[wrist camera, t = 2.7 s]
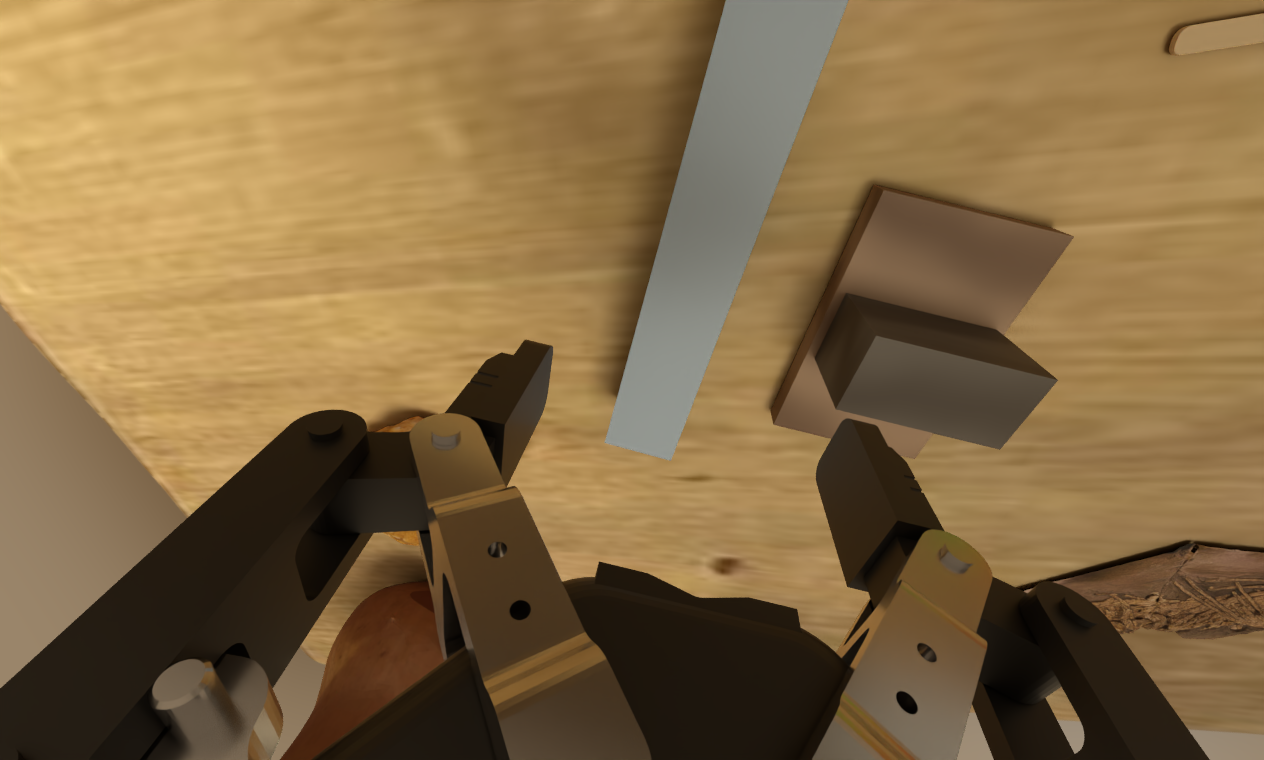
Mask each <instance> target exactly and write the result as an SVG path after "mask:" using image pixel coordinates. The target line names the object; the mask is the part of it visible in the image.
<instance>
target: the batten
mask: <svg viewBox="0 0 1264 760" xmlns="http://www.w3.org/2000/svg"><path fill="white" fill-rule="evenodd" d="M847 3H848V0H726V2H725V6H724V9H723V13H722V17H721V20H720V24H719V28H718V31H717V35H716V39H715V42H714V46H713V49H712V53H711V57H710V60H709V64H708V68H707V71H706V75H705V79H704V82H703V86H702V90H701V93H700V97H699V101H698V104H697V108H696V111H695V115H694V119H693V122H692V126H691V130H690V133H689V137H688V141H687V144H686V148H685V152H684V155H683V159H682V163H681V166H680V170H679V174H678V177H677V181H676V184H675V188H674V192H673V195H672V199H671V203H670V206H669V210H668V214H667V217H666V221H665V225H664V228H663V232H662V236H661V239H660V243H659V247H658V250H657V254H656V257H655V261H654V265H653V268H652V272H651V276H650V279H649V283H648V287H647V290H646V294H645V298H644V301H643V305H642V309H641V312H640V316H639V320H638V323H637V327H636V330H635V334H634V338H633V341H632V345H631V349H630V352H629V356H628V360H627V363H626V367H625V371H624V374H623V378H622V382H621V385H620V389H619V393H618V396H617V400H616V403H615V407H614V411H613V414H612V418H611V422H610V425H609V429H608V433H607V436H606V440H605V443H607V444H611V445H615V446H618V447H622V448H626V449H629V450H633V451H637V452H641V453H644V454H648V455H652V456H655V457H659V458H663V459H666V460H670V461H671V459H672V456H673V454H674V451H675V448H676V446H677V443H678V441H679V438H680V435H681V433H682V430H683V428H684V425H685V423H686V420H687V417H688V415H689V412H690V410H691V407H692V404H693V402H694V399H695V397H696V394H697V391H698V389H699V386H700V384H701V381H702V378H703V376H704V373H705V371H706V368H707V366H708V363H709V360H710V358H711V355H712V353H713V350H714V347H715V345H716V342H717V340H718V337H719V334H720V332H721V329H722V327H723V324H724V321H725V319H726V316H727V314H728V311H729V309H730V306H731V303H732V301H733V298H734V296H735V293H736V290H737V288H738V285H739V283H740V280H741V277H742V275H743V272H744V270H745V267H746V265H747V262H748V259H749V257H750V254H751V252H752V249H753V246H754V244H755V241H756V239H757V236H758V233H759V231H760V228H761V226H762V223H763V220H764V218H765V215H766V213H767V210H768V208H769V205H770V202H771V200H772V197H773V195H774V192H775V189H776V187H777V184H778V182H779V179H780V176H781V174H782V171H783V169H784V166H785V163H786V161H787V158H788V156H789V153H790V151H791V148H792V145H793V143H794V140H795V138H796V135H797V132H798V130H799V127H800V125H801V122H802V119H803V117H804V114H805V112H806V109H807V107H808V104H809V101H810V99H811V96H812V94H813V91H814V88H815V86H816V83H817V81H818V78H819V75H820V73H821V70H822V68H823V65H824V62H825V60H826V57H827V55H828V52H829V50H830V47H831V44H832V42H833V39H834V37H835V34H836V31H837V29H838V26H839V24H840V21H841V18H842V16H843V13H844V11H845V8H846V5H847Z"/></svg>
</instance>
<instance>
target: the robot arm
mask: <svg viewBox="0 0 1264 760" xmlns="http://www.w3.org/2000/svg"><path fill="white" fill-rule="evenodd" d="M552 356H553V347H552V346H550V345H546V344H542V343H538V342H534V341H530V340H524V341H523V343H522V344H521V346H520V347H519V349H518V350H517V351H516V353H515V354H514V355H510V354H505V353H500V354H498V355H496V356H494V357H492V358H490V359H488V360H486V361H485V363H484V364H483V365H482V366H481V368H480V369H479V370H478V373H477V374H475V375H474V377H473V378H472V379H471V381H470V383H468V384H467V385H466V387H465V388H464V389H463V391H462V392H461V393H460V394H459V396H458V397H457V398H456V399H455V401H454V402H453V403H452V405H451V406H450V407H449V408H448V410H447V411H446V412H445V413H443V414H436V415H432V416H429V417H426V418H424V419H422V420H421V421H419V422H418V423H417V424H415V425H414V427H413V428H412V430H411V431H408V432H367V426H366V423H365V421H364V419H363V418H362V417H360V416H359V415H357V414H355V413H353V412H349V411H344V410H324V411H318V412H314V413H311V414H308V415H305V416H303V417H301V418H299V419H297V420H296V421H294V422H293V423H292V424H290V425H289V426H288V427H287V428H286V429H285V430H284V431H283V432H281V433H280V434H279V435H278V436H277V437H276V438H275V439H274V440H273V441H272V442H270V443H269V444H268V445H267V446H266V447H265V448H264V449H263V450H262V451H261V452H259V453H258V454H257V455H256V456H255V457H254V458H253V459H252V460H251V461H250V462H248V463H247V464H246V465H245V466H244V467H243V468H242V469H241V470H240V471H239V472H238V473H236V474H235V475H234V476H233V477H232V478H231V479H230V480H229V481H228V482H227V483H225V484H224V485H223V486H222V487H221V488H220V489H219V490H218V491H217V492H216V493H214V494H213V495H212V496H211V497H210V498H209V499H208V500H207V501H206V502H205V503H203V504H202V505H201V506H200V507H199V508H198V509H197V510H196V511H195V512H194V513H193V514H191V515H190V516H189V517H188V518H187V519H186V520H185V521H184V522H183V523H182V524H180V525H179V526H178V527H177V528H176V529H175V530H174V531H173V532H172V533H171V534H169V535H168V536H167V537H166V538H165V539H164V540H163V541H162V542H161V543H160V544H159V545H157V546H156V547H155V548H154V549H153V550H152V551H151V552H150V553H149V554H148V555H146V556H145V557H144V558H143V559H142V560H141V561H140V562H139V563H138V564H137V565H136V566H134V567H133V568H132V569H131V570H130V571H129V572H128V573H127V574H126V575H125V576H123V577H122V578H121V579H120V580H119V581H118V582H117V583H116V584H115V585H113V586H112V587H111V588H110V589H109V590H108V591H107V592H106V593H105V594H104V595H103V596H101V597H100V598H99V599H98V600H97V601H96V602H95V603H94V604H93V605H92V606H91V607H89V608H88V609H87V610H86V611H85V612H84V613H83V614H82V615H81V616H79V618H77V619H76V620H75V621H74V622H73V623H72V624H71V625H70V626H69V627H68V628H66V629H65V630H64V631H63V632H62V633H61V634H60V635H59V636H57V637H56V638H55V639H54V640H53V641H52V642H51V643H50V644H49V645H48V646H47V647H45V648H44V649H43V650H42V651H41V652H40V653H39V654H38V655H37V656H36V657H34V658H33V659H32V660H31V661H30V662H29V663H28V664H27V665H26V666H25V667H24V668H22V669H21V671H19V672H18V673H17V674H16V675H15V676H14V677H13V678H11V680H9V681H8V682H7V683H6V684H5V685H4V686H3V687H2V688H0V760H271V757H272V755H273V753H274V751H275V748H276V746H277V744H278V742H279V739H280V736H281V733H282V727H283V713H282V710H281V707H280V705H279V703H278V700H277V698H276V696H275V693H274V691H273V689H272V688H273V687H274V685H275V684H276V682H277V681H278V679H279V678H280V676H281V675H282V673H283V671H284V670H285V668H286V667H287V665H288V664H289V662H290V661H291V659H292V658H293V656H294V655H295V653H296V651H297V650H298V648H299V647H300V645H301V644H302V642H303V641H304V639H305V638H306V636H307V635H308V633H309V631H310V630H311V628H312V627H313V625H314V624H315V622H316V621H317V619H318V618H319V616H320V615H321V613H322V611H323V610H324V608H325V607H326V605H327V604H328V602H329V601H330V599H331V598H332V596H333V595H334V593H335V591H336V590H337V588H338V587H339V585H340V584H341V582H342V581H343V579H344V578H345V576H346V575H347V573H348V571H349V570H350V568H351V567H352V565H353V564H354V562H355V561H356V559H357V558H358V556H359V555H360V553H361V551H362V550H363V548H364V547H365V545H366V544H367V542H368V541H369V539H370V538H371V536H372V535H373V533H379V532H401V531H416V533H417V537H418V541H419V545H420V549H421V554H422V558H423V562H424V566H425V570H426V575H427V579H428V583H429V587H430V591H431V596H432V600H433V606H434V612H435V619H436V626H437V632H438V637H439V642H440V646H441V651H442V655H443V659H444V662H442V663H441V664H440V665H438V666H437V667H436V668H434V669H433V670H431V671H430V672H429V673H427V674H426V675H425V676H423V677H422V678H421V679H419V680H418V681H417V682H415V683H414V684H412V685H411V686H410V687H408V688H407V689H406V690H404V691H403V692H402V693H400V694H399V695H397V696H396V697H395V698H393V699H392V700H391V701H389V702H388V703H387V704H385V705H384V706H383V707H381V708H380V709H378V710H377V711H376V712H374V713H373V714H372V715H370V716H369V717H368V718H366V719H365V720H363V721H362V722H361V723H359V724H358V725H357V726H355V727H354V728H353V729H351V730H350V731H349V732H347V733H346V734H344V735H343V736H342V737H340V738H339V739H338V740H336V741H335V742H334V743H332V744H331V745H330V746H328V747H327V748H325V749H324V750H323V751H321V752H320V753H319V754H317V755H316V756H315V757H313V758H312V759H311V760H957V756H958V753H959V749H960V745H961V742H962V738H963V734H964V731H965V727H966V723H967V719H968V716H969V712H970V709H971V705H973V708H974V710H975V713H976V715H977V718H978V720H979V723H980V725H981V728H982V731H983V733H984V735H985V738H986V740H987V743H988V745H989V748H990V751H991V753H992V756H993V758H994V760H1209V758H1208V757H1207V755H1206V754H1205V753H1204V751H1203V750H1202V749H1201V747H1200V746H1199V744H1198V743H1197V741H1196V740H1195V739H1194V737H1193V736H1192V735H1191V734H1190V732H1189V730H1188V729H1187V728H1186V726H1185V725H1184V723H1183V722H1182V721H1181V719H1180V718H1179V716H1178V715H1177V714H1176V712H1175V711H1174V709H1173V708H1172V707H1171V705H1170V704H1169V703H1168V701H1167V700H1166V698H1165V697H1164V696H1163V694H1162V693H1161V691H1160V690H1159V689H1158V687H1157V686H1156V684H1155V683H1154V682H1153V680H1152V679H1151V677H1150V676H1149V675H1148V673H1147V672H1146V670H1145V669H1144V668H1143V666H1142V665H1141V664H1140V662H1139V661H1138V659H1137V658H1136V657H1135V655H1134V654H1133V652H1132V651H1131V650H1130V648H1129V647H1128V645H1127V644H1126V643H1125V641H1124V640H1123V638H1122V637H1121V636H1120V634H1119V633H1118V632H1117V630H1116V629H1115V627H1114V626H1113V625H1112V623H1111V622H1110V621H1109V619H1108V618H1107V617H1106V616H1105V615H1104V614H1103V613H1102V612H1101V611H1100V610H1099V609H1098V608H1097V607H1096V606H1095V605H1093V604H1092V603H1091V602H1090V601H1088V600H1087V599H1086V598H1084V597H1083V596H1081V595H1080V594H1078V593H1077V592H1075V591H1073V590H1071V589H1070V588H1067V587H1065V586H1063V585H1060V584H1058V583H1054V582H1047V581H1045V582H1041V583H1039V584H1037V585H1036V586H1035V587H1034V588H1033V589H1032V590H1031V591H1030V592H1028V593H1026V592H1024V591H1022V590H1020V589H1018V588H1015V587H1013V586H1011V585H1009V584H1007V583H1005V582H1003V581H1001V580H999V579H997V578H994V577H992V572H991V569H990V567H989V565H988V563H987V562H986V561H985V559H984V558H983V557H982V556H981V555H980V554H979V553H978V552H977V551H976V550H975V549H974V548H973V547H972V546H971V545H969V544H968V543H967V542H965V541H964V540H962V539H960V538H959V537H957V536H955V535H953V534H950V533H948V532H945V531H944V529H943V528H942V526H941V524H940V522H939V520H938V518H937V517H936V515H935V513H934V511H933V509H932V508H931V506H930V504H929V502H928V500H927V499H926V497H925V495H924V493H921V490H922V489H921V488H920V486H919V484H918V482H917V481H916V480H914V479H915V477H914V475H913V473H912V471H911V470H910V468H909V466H908V464H907V462H906V461H905V460H904V459H903V458H902V457H901V456H900V455H899V454H898V453H897V452H896V451H895V450H894V449H893V448H891V447H888V445H887V443H886V441H885V439H884V437H883V435H882V433H881V431H880V430H879V428H878V426H876V425H874V424H870V423H866V422H862V421H858V420H853V419H849V418H846V419H844V420H843V421H842V422H841V423H840V425H839V427H838V428H837V430H836V432H835V434H834V435H833V437H832V439H831V441H830V443H829V444H828V446H827V448H826V450H825V451H824V453H823V455H822V457H821V458H820V460H819V463H818V466H817V471H816V482H817V486H818V489H819V493H820V496H821V499H822V503H823V506H824V510H825V513H826V516H827V520H828V523H829V526H830V530H831V533H832V537H833V540H834V543H835V547H836V550H837V554H838V557H839V560H840V564H841V567H842V571H843V574H844V577H845V581H846V584H847V587H850V588H854V589H858V590H862V591H867V592H869V595H870V599H869V600H868V601H867V603H866V604H865V605H864V606H863V608H862V610H861V611H860V613H859V615H858V616H857V618H856V620H855V621H854V623H853V625H852V626H851V628H850V630H849V631H848V633H847V635H846V636H845V638H844V640H843V641H842V643H841V645H840V646H839V648H838V650H837V651H836V652H835V651H833V650H832V649H831V648H830V647H829V646H828V645H826V644H825V643H824V642H822V641H821V640H820V639H818V638H817V637H815V636H814V635H812V634H810V633H809V632H807V631H806V630H804V629H802V628H800V623H799V617H798V612H797V609H794V608H790V607H786V606H782V605H778V604H773V603H769V602H765V601H761V600H757V599H753V598H699V597H695V596H693V595H691V594H689V593H687V592H685V591H683V590H681V589H679V588H677V587H675V586H673V585H671V584H668V583H666V582H664V581H662V580H660V579H658V578H656V577H654V576H652V575H650V574H648V573H644V572H640V571H636V570H632V569H628V568H623V567H619V566H615V565H611V564H607V563H603V562H599V564H598V568H597V572H596V576H595V577H584V578H577V579H571V580H567V581H564V582H562V581H561V579H560V576H559V574H558V572H557V570H556V568H555V566H554V563H553V561H552V559H551V557H550V555H549V553H548V551H547V548H546V546H545V544H544V542H543V540H542V538H541V535H540V533H539V531H538V529H537V527H536V525H535V523H534V520H533V518H532V516H531V514H530V512H529V510H528V507H527V505H526V503H525V501H524V499H523V497H522V495H521V493H520V491H519V490H518V488H517V487H515V486H512V487H508V488H507V485H508V483H509V481H510V479H511V477H512V475H513V473H514V471H515V469H516V467H517V465H518V463H519V461H520V458H521V456H522V454H523V452H524V450H525V448H526V446H527V444H528V442H529V440H530V438H531V436H532V434H533V432H534V430H535V428H536V426H537V424H538V422H539V419H540V417H541V415H542V413H543V410H544V407H545V403H546V399H547V394H548V387H549V379H550V372H551V364H552ZM1061 686H1062V688H1063V690H1064V692H1065V693H1066V695H1067V697H1068V699H1069V701H1070V702H1071V704H1072V706H1073V708H1074V710H1075V711H1076V713H1077V715H1078V717H1079V719H1080V721H1081V723H1082V725H1083V729H1084V734H1085V735H1084V736H1085V738H1084V739H1085V740H1084V745H1083V747H1082V749H1081V750H1080V751H1079V752H1078V753H1076V754H1074V752H1073V750H1072V748H1071V746H1070V745H1069V742H1068V741H1067V739H1066V737H1065V735H1064V733H1063V731H1062V729H1061V727H1060V725H1059V723H1058V721H1057V719H1056V717H1055V715H1054V713H1053V712H1052V710H1051V708H1050V706H1049V704H1048V702H1047V700H1046V698H1045V697H1047V696H1048V695H1050V694H1051V693H1053V692H1054V691H1056V690H1057V689H1058V688H1060V687H1061Z"/></svg>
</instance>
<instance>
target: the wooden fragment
mask: <svg viewBox="0 0 1264 760" xmlns="http://www.w3.org/2000/svg"><path fill="white" fill-rule="evenodd" d="M1195 545H1196V544H1187V545H1185V546H1183V547H1180V548H1178V549H1177V550H1176V551H1175V552H1170V553H1165V554H1161V555H1158V556H1153V557H1151V558H1146V559H1143V560H1138V561H1134V562H1130V563H1126V564H1123V565H1118V566H1115V567H1111V568H1107V569H1103V570H1099V571H1096V572H1090V573H1087V574H1083V575H1079V576H1075V577H1072V578H1068V579H1063V580H1060V581H1054V583H1058V584H1060V585H1063V586H1065V587H1067V588H1070V589H1071V590H1073V591H1075V592H1077V593H1078V594H1080V595H1081V596H1083V597H1084V598H1086V599H1087V600H1088V601H1090V602H1091V603H1092V604H1093V605H1095V606H1096V607H1097V608H1098V609H1099V610H1100V611H1101V612H1102V613H1103V614H1104V615H1105V616H1106V617H1107V618H1108V619H1109V621H1110V622H1111V623H1112V625H1113V626H1114V627H1115V629H1116V630H1117V632H1118V633H1119V634H1123V633H1124V632H1126V633H1133V632H1134V631H1135V630H1137V629H1139V628H1140V627H1143V628H1145V629H1151V628H1152V629H1155V630H1158V631H1165V632H1171V631H1175V632H1177V633H1178V634H1179V635H1180V636H1181V637H1182V638H1188V639H1212V640H1213V639H1215V638H1222V637H1227V636H1233V635H1237V634H1248V633H1251V632H1254V631H1262V630H1264V553H1261V552H1250V551H1240V550H1234V549H1233V550H1228V549H1223V548H1213V547H1207V546H1203V545H1198V544H1197V545H1198V546H1199V549H1197V551H1196V552H1195V553H1193V552H1191V550H1192V549H1193V547H1194V546H1195ZM1194 548H1195V547H1194ZM1032 589H1033V588H1032ZM1032 589H1028V590H1025V591H1024V592H1026V593H1028V592H1030V591H1031V590H1032Z"/></svg>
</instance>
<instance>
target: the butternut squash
mask: <svg viewBox="0 0 1264 760" xmlns="http://www.w3.org/2000/svg"><path fill="white" fill-rule="evenodd" d="M442 662H444V659H443V655H442V651H441V646H440V642H439V637H438V632H437V626H436V619H435V612H434V606H433V600H432V596H431V591H430V587H429V583H428V581H420V582H408V583H403V584H398V585H394V586H390V587H387V588H384V589H381V590H379V591H377V592H376V593H374V594H373V595H371V596H370V597H368V598H367V599H365V600H364V601H363V602H362V603H361V604H360V605H359V606H358V607H357V608H356V609H355V610H354V612H353V613H352V614H351V616H350V617H349V618H348V620H347V621H346V622H345V624H344V626H343V627H342V629H341V631H340V633H339V634H338V636H337V638H336V640H335V642H334V644H333V646H332V648H331V651H330V653H329V656H328V659H327V663H326V667H325V671H324V676H323V679H322V683H321V688H320V691H319V695H318V698H317V701H316V705H315V708H314V710H313V712H312V714H311V715H310V717H309V719H308V721H307V722H306V724H305V725H304V727H303V729H302V730H301V732H300V733H299V735H298V736H297V737H296V739H295V740H294V742H293V743H292V744H291V746H290V747H289V749H288V750H287V751H286V752H285V754H284V755H283V756H282V758H281V759H280V760H311V759H312V758H313V757H315V756H316V755H317V754H319V753H320V752H321V751H323V750H324V749H325V748H327V747H328V746H330V745H331V744H332V743H334V742H335V741H336V740H338V739H339V738H340V737H342V736H343V735H344V734H346V733H347V732H349V731H350V730H351V729H353V728H354V727H355V726H357V725H358V724H359V723H361V722H362V721H363V720H365V719H366V718H368V717H369V716H370V715H372V714H373V713H374V712H376V711H377V710H378V709H380V708H381V707H383V706H384V705H385V704H387V703H388V702H389V701H391V700H392V699H393V698H395V697H396V696H397V695H399V694H400V693H402V692H403V691H404V690H406V689H407V688H408V687H410V686H411V685H412V684H414V683H415V682H417V681H418V680H419V679H421V678H422V677H423V676H425V675H426V674H427V673H429V672H430V671H431V670H433V669H434V668H436V667H437V666H438V665H440V664H441V663H442Z"/></svg>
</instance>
